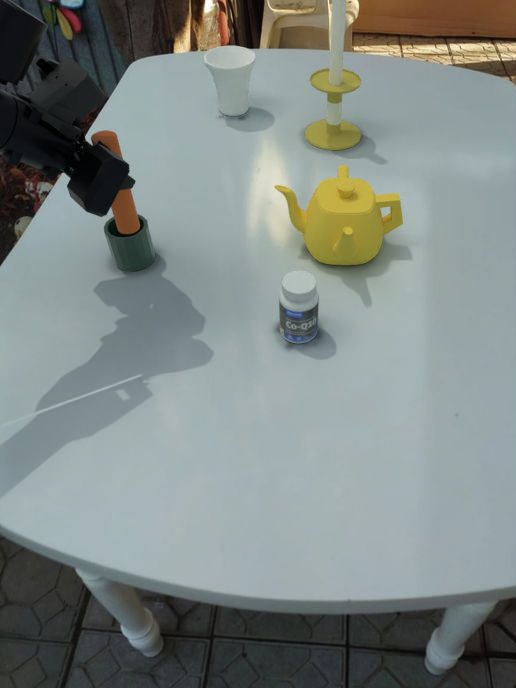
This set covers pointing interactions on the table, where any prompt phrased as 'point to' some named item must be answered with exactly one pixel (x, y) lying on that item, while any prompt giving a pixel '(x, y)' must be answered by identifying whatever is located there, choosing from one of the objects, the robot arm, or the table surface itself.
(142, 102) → the table surface
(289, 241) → the table surface
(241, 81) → the cup
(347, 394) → the table surface
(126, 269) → the green cylindrical container
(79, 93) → the robot arm
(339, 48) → the candle
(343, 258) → the teapot
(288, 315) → the pill bottle
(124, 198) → the orange cylindrical rod
